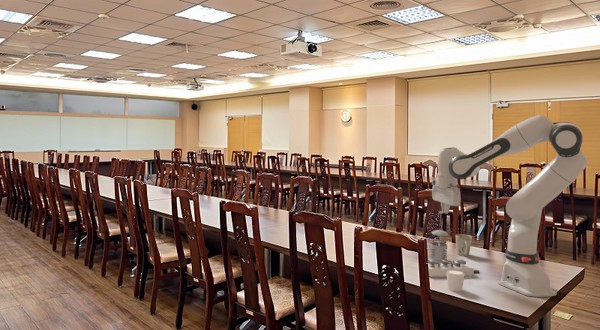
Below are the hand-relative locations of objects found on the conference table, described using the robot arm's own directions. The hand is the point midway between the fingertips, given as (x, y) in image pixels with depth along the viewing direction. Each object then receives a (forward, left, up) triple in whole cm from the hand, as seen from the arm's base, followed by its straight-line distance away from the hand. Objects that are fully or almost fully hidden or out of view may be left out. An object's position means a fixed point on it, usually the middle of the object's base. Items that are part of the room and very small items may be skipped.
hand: (445, 212), depth 202 cm
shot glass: (-24, +7, -27) cm, 37 cm away
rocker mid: (-4, 0, -22) cm, 23 cm away
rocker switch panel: (-4, -3, -27) cm, 27 cm away
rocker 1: (-4, +6, -22) cm, 24 cm away
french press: (+18, -7, -27) cm, 33 cm away
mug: (+25, -25, -27) cm, 45 cm away
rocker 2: (-4, -6, -22) cm, 23 cm away
